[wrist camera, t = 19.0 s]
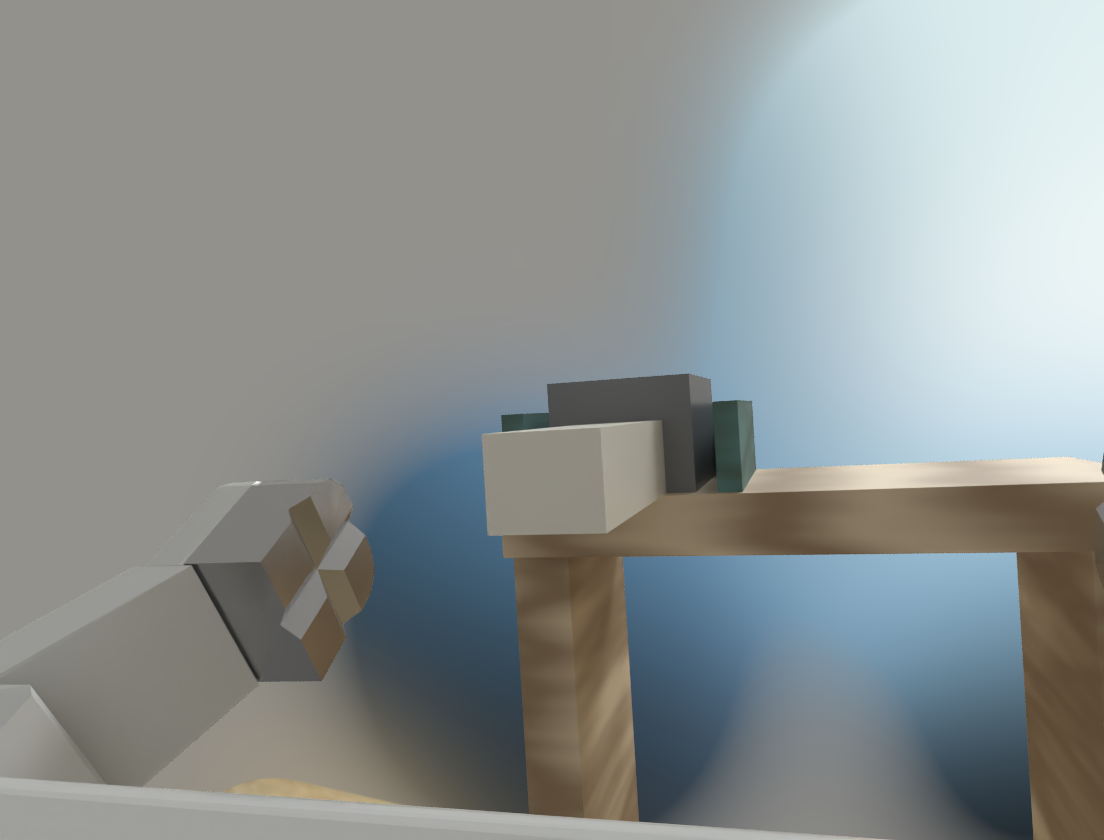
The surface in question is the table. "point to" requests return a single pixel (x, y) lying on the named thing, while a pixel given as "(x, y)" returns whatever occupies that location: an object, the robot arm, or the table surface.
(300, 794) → the table surface
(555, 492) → the beige and grey block
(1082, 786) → the brown and teal frame
